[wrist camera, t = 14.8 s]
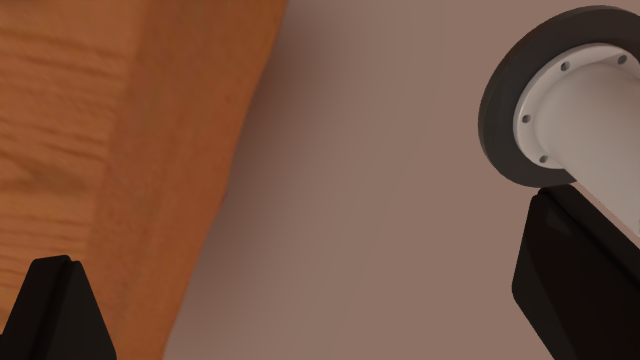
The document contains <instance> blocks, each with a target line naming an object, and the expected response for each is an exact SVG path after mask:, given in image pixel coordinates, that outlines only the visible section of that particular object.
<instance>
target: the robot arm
mask: <svg viewBox="0 0 640 360" xmlns="http://www.w3.org/2000/svg"><path fill="white" fill-rule="evenodd" d="M513 133H514V138H515V141H516V143H517V145H518V147H519V149H520V150H521V151H522V152H523V154H524V155H525V156H526V157H527V158H529V159H530V160H531V161H532V162H533V163H535V164H537V165H539V166H542V167H546V168H552V169H563V168H564V169H565V170H566V171H567V172H568V173H569V174H571V175H572V176H573V177H574V178H575V179H576V180H577V181H578V182H579V183H580V184H581V185H583V186H584V187H585V188H586V189H587V190H588V191H589V192H590V193H591V194H592V195H593V196H594V197H596V198H597V199H598V200H599V201H600V202H601V203H602V204H603V205H604V206H605V207H606V208H607V209H609V210H610V211H611V212H612V213H613V214H614V215H615V216H616V217H617V218H618V219H619V220H620V221H622V222H623V223H624V224H625V225H626V226H627V227H628V228H629V229H630V230H631V231H632V232H633V233H635V234H636V235H637V236H638V237H639V238H640V64H639V62H638V61H637V59H636V58H635V57H634V56H633V55H632V54H631V53H629V52H627V51H626V50H624V49H622V48H620V47H618V46H615V45H612V44H608V43H589V44H584V45H580V46H577V47H574V48H571V49H569V50H567V51H565V52H563V53H561V54H559V55H558V56H556V57H555V58H554V59H552V60H551V61H549V62H548V63H547V64H546V65H545V66H543V67H542V68H541V69H540V70H539V71H538V72H537V73H536V74H535V75H534V77H533V78H532V79H531V80H530V81H529V83H528V84H527V86H526V87H525V89H524V91H523V92H522V94H521V96H520V98H519V101H518V103H517V105H516V109H515V113H514V117H513ZM512 293H513V297H514V299H515V301H516V303H517V304H518V305H519V307H520V309H521V310H522V312H523V313H524V315H525V316H526V318H527V319H528V320H529V322H530V324H531V325H532V327H533V328H534V330H535V331H536V333H537V334H538V336H539V337H540V339H541V340H542V342H543V343H544V345H545V346H546V348H547V349H548V350H549V352H550V354H551V355H552V357H553V358H554V359H555V360H640V249H639V248H638V247H637V246H636V245H635V244H634V243H632V242H631V241H630V240H629V239H628V238H627V237H626V236H625V235H624V234H623V233H622V232H621V231H620V230H619V229H618V228H617V227H616V226H614V224H613V223H611V222H610V221H609V220H608V219H607V218H606V217H605V216H604V215H603V214H602V213H601V212H600V211H599V210H598V209H597V208H596V207H595V206H593V204H591V203H590V202H589V201H588V200H587V199H586V198H585V197H584V196H583V195H582V194H581V193H580V192H579V191H578V190H577V189H576V188H575V187H573V186H572V185H570V184H563V185H556V186H548V187H543V188H541V189H540V190H539V191H538V194H537V195H535V196H533V197H532V200H531V202H530V206H529V211H528V215H527V220H526V224H525V229H524V233H523V237H522V242H521V246H520V251H519V255H518V259H517V264H516V268H515V273H514V277H513V282H512ZM0 360H117V357H116V352H115V349H114V346H113V344H112V341H111V338H110V336H109V333H108V331H107V328H106V325H105V323H104V320H103V318H102V315H101V313H100V310H99V307H98V305H97V302H96V300H95V297H94V294H93V292H92V289H91V287H90V284H89V281H88V279H87V276H86V274H85V271H84V269H83V266H82V264H81V262H80V261H71V259H70V257H69V256H68V255H60V256H53V257H46V258H39V259H35V260H33V262H32V263H31V265H30V267H29V270H28V272H27V275H26V277H25V280H24V282H23V284H22V287H21V289H20V292H19V294H18V297H17V299H16V302H15V304H14V306H13V309H12V311H11V314H10V316H9V319H8V321H7V323H6V326H5V328H4V331H3V333H2V335H0Z"/></svg>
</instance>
